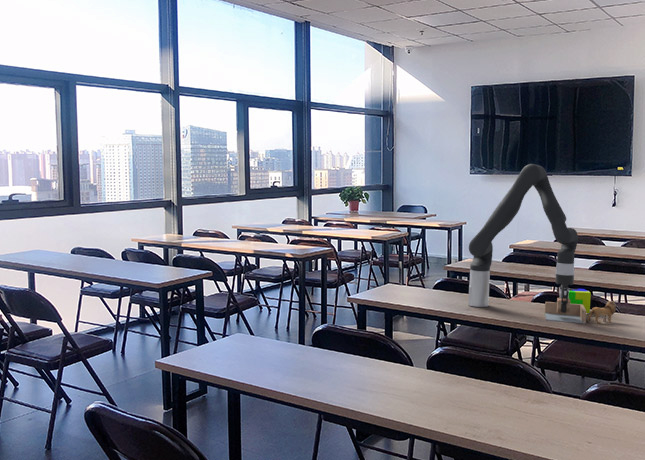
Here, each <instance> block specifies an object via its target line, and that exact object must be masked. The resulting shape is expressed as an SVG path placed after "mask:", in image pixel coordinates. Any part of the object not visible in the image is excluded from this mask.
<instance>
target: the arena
mask: <svg viewBox="0 0 645 460" xmlns="http://www.w3.org/2000/svg"><path fill="white" fill-rule="evenodd" d="M544 316H545V321H550V322H551V321H553V322H565V323H577V324H578V323H579V324H586V322H587V314H586V309H585V308H584V306H583V305H582V304H570V314H560V313H557V302H552V301H545V303H544Z"/></svg>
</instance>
